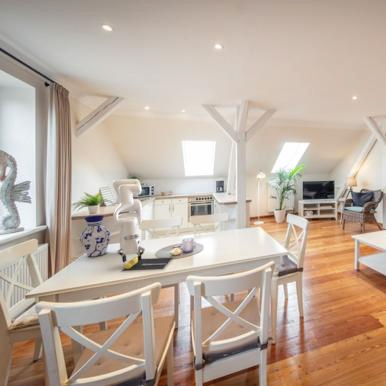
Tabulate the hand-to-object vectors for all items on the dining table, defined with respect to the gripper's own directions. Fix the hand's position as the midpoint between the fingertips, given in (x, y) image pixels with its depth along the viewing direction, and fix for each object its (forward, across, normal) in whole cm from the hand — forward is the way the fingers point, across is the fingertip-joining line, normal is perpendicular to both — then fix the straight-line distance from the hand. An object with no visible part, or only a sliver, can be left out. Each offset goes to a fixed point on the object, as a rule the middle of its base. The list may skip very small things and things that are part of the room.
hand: (132, 261), depth 154 cm
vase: (+3, +39, -26) cm, 47 cm away
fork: (+3, -15, 0) cm, 15 cm away
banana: (+3, 0, 0) cm, 3 cm away
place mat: (+4, -10, -2) cm, 11 cm away
